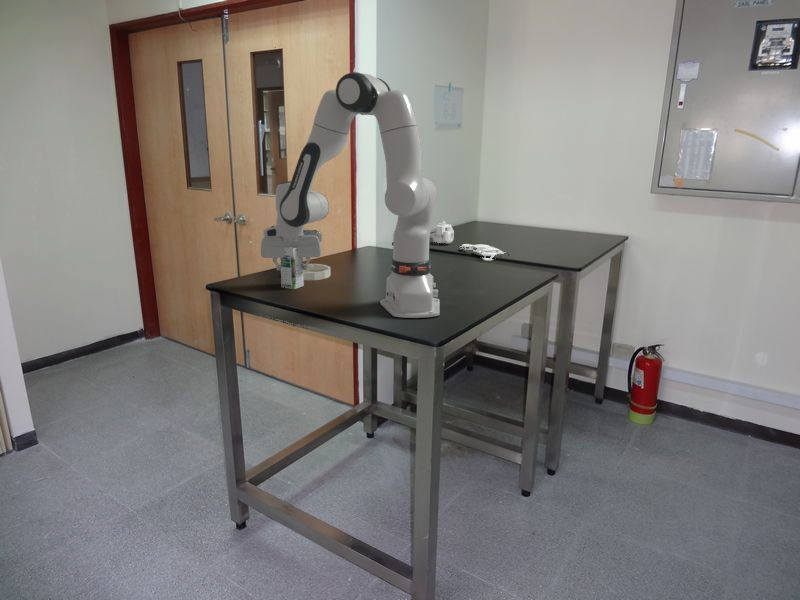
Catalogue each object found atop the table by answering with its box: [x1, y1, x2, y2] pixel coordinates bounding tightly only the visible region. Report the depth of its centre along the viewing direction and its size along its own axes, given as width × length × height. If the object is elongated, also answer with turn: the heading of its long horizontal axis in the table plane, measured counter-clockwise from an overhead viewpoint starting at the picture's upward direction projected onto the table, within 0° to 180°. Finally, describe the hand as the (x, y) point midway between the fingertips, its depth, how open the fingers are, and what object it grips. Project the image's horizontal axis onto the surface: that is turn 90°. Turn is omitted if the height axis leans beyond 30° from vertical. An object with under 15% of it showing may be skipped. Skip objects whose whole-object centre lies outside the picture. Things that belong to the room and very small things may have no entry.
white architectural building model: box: [459, 243, 505, 262], centre depth 248 cm, size 23×25×4 cm
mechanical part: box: [429, 220, 455, 244], centre depth 270 cm, size 11×12×12 cm
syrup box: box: [279, 247, 305, 290], centre depth 186 cm, size 6×6×14 cm
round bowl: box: [303, 263, 332, 281], centre depth 203 cm, size 16×16×3 cm
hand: (292, 270), depth 186 cm, fingers closed on syrup box, 7 cm apart
